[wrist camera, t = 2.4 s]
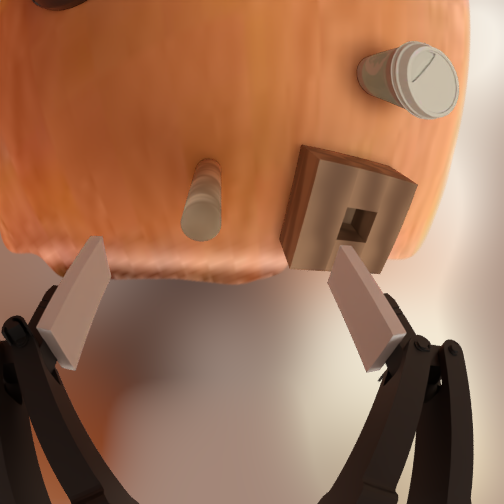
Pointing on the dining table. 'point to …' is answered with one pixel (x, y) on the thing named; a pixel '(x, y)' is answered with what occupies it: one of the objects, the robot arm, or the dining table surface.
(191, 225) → the dowel
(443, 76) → the coffee cup
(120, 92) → the dining table surface
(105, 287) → the robot arm
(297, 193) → the bore block
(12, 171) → the dining table surface
